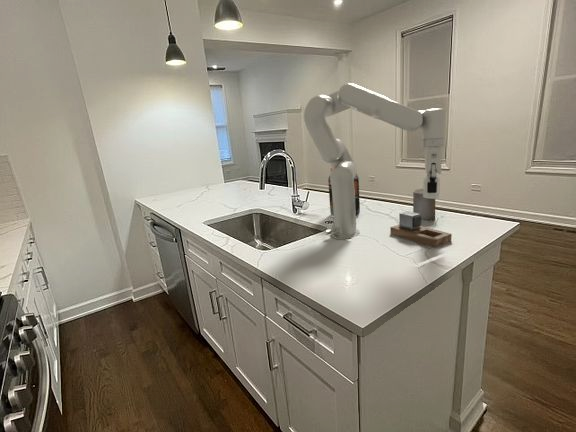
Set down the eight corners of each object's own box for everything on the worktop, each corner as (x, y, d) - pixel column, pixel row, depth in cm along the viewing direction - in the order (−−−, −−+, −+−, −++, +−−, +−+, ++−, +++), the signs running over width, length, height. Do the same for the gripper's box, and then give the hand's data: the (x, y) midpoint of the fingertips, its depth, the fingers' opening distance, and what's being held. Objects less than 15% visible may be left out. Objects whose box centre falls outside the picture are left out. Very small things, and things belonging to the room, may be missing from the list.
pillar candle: (430, 215, 156) (430, 185, 152) (438, 220, 146) (439, 188, 142) (410, 217, 156) (409, 187, 152) (417, 222, 147) (417, 191, 143)
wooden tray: (434, 250, 115) (434, 240, 114) (390, 236, 133) (390, 227, 132) (451, 243, 119) (451, 233, 118) (406, 231, 137) (406, 222, 136)
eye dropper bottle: (430, 195, 127) (431, 165, 124) (440, 198, 122) (442, 166, 118) (421, 197, 126) (422, 167, 122) (431, 199, 120) (432, 168, 117)
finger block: (413, 238, 125) (414, 216, 123) (399, 234, 132) (399, 213, 129) (421, 235, 127) (422, 214, 125) (407, 231, 134) (407, 211, 131)
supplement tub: (338, 210, 181) (336, 164, 174) (364, 212, 172) (363, 164, 165) (325, 217, 169) (321, 169, 162) (352, 220, 159) (350, 169, 153)
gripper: (447, 144, 109) (444, 196, 114) (440, 141, 124) (439, 186, 129) (423, 145, 112) (422, 196, 117) (420, 142, 127) (419, 187, 132)
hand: (431, 190), depth 123 cm, fingers closed on eye dropper bottle, 4 cm apart
